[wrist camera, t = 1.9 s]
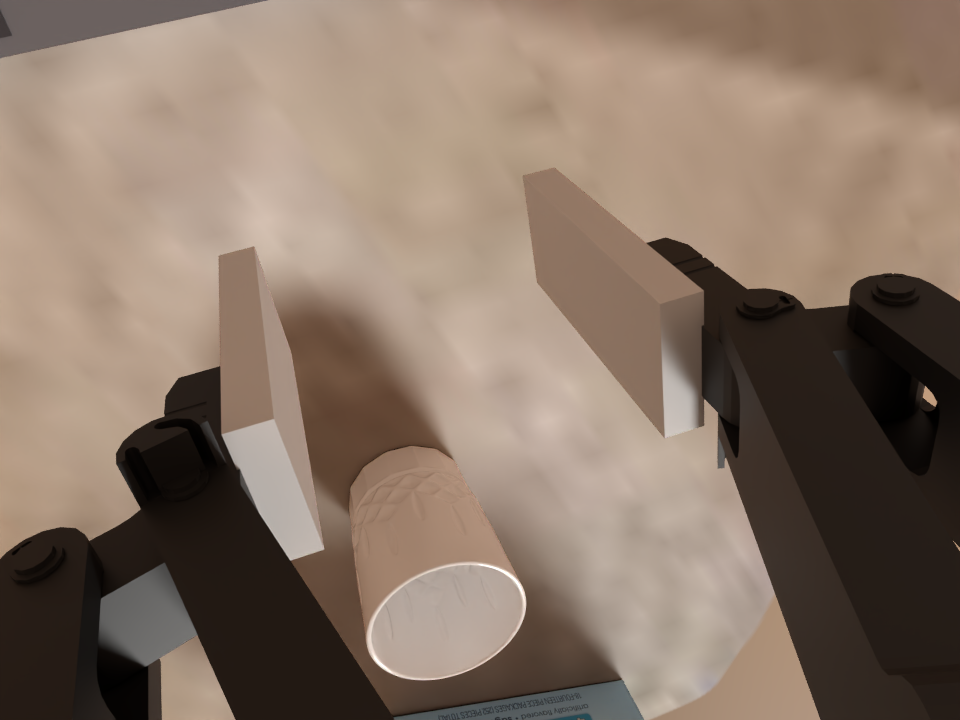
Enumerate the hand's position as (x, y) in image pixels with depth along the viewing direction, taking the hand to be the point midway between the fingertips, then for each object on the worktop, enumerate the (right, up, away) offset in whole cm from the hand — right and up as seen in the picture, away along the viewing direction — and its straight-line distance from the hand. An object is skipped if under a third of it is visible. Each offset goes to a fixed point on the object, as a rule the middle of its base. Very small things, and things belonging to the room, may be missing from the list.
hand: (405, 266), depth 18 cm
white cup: (-3, -10, +28) cm, 30 cm away
